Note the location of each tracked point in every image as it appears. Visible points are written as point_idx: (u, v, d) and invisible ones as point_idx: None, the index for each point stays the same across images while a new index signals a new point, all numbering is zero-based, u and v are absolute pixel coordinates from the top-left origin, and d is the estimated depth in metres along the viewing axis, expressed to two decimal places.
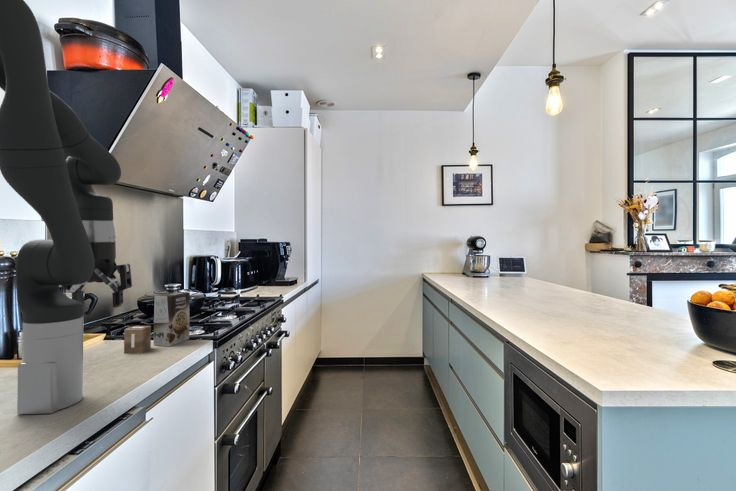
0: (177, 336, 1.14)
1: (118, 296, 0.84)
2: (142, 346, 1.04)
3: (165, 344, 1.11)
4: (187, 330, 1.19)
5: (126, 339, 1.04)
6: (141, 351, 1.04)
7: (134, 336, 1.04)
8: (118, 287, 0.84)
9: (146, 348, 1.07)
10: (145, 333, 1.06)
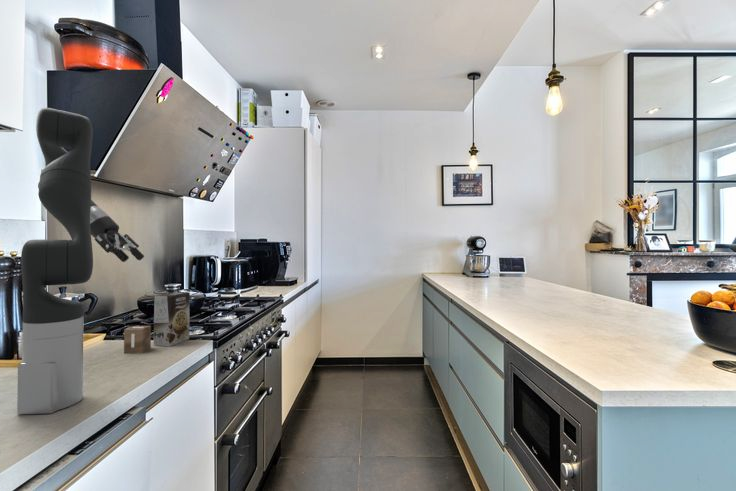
0: (177, 336, 1.14)
1: (138, 251, 1.20)
2: (142, 346, 1.04)
3: (165, 344, 1.11)
4: (187, 330, 1.19)
5: (126, 339, 1.04)
6: (141, 351, 1.04)
7: (134, 336, 1.04)
8: None
9: (146, 347, 1.07)
10: (145, 333, 1.06)
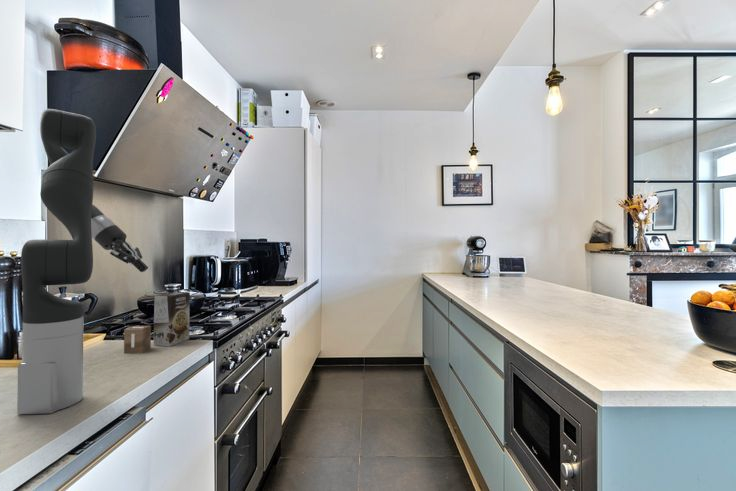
0: (177, 336, 1.14)
1: (142, 262, 1.16)
2: (142, 346, 1.04)
3: (165, 344, 1.11)
4: (187, 330, 1.19)
5: (126, 339, 1.04)
6: (141, 351, 1.04)
7: (134, 336, 1.04)
8: None
9: (146, 347, 1.07)
10: (145, 333, 1.06)
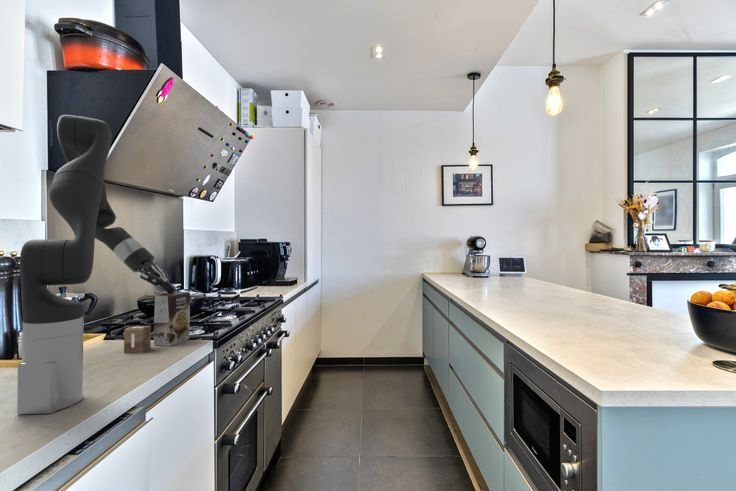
0: (177, 337, 1.14)
1: (170, 284, 1.17)
2: (142, 346, 1.04)
3: (165, 344, 1.11)
4: (187, 330, 1.19)
5: (126, 339, 1.04)
6: (141, 351, 1.04)
7: (134, 336, 1.04)
8: None
9: (146, 347, 1.07)
10: (145, 333, 1.06)
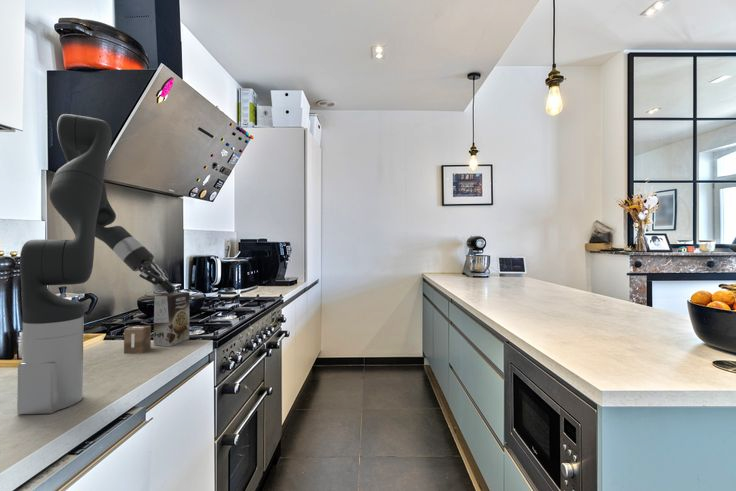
0: (177, 336, 1.14)
1: (169, 283, 1.17)
2: (141, 346, 1.04)
3: (165, 344, 1.11)
4: (187, 330, 1.19)
5: (126, 339, 1.04)
6: (141, 351, 1.04)
7: (134, 336, 1.04)
8: None
9: (146, 347, 1.07)
10: (145, 333, 1.06)
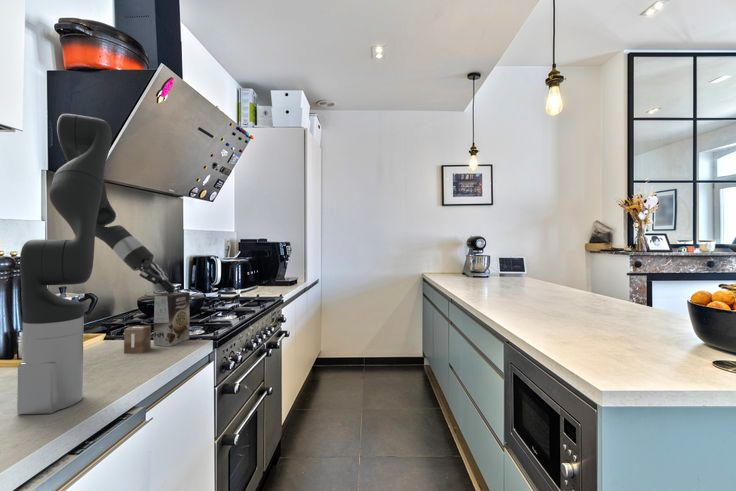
0: (177, 336, 1.14)
1: (169, 282, 1.17)
2: (141, 346, 1.04)
3: (165, 344, 1.11)
4: (187, 330, 1.19)
5: (126, 339, 1.04)
6: (141, 351, 1.04)
7: (134, 336, 1.04)
8: None
9: (146, 347, 1.07)
10: (145, 333, 1.06)
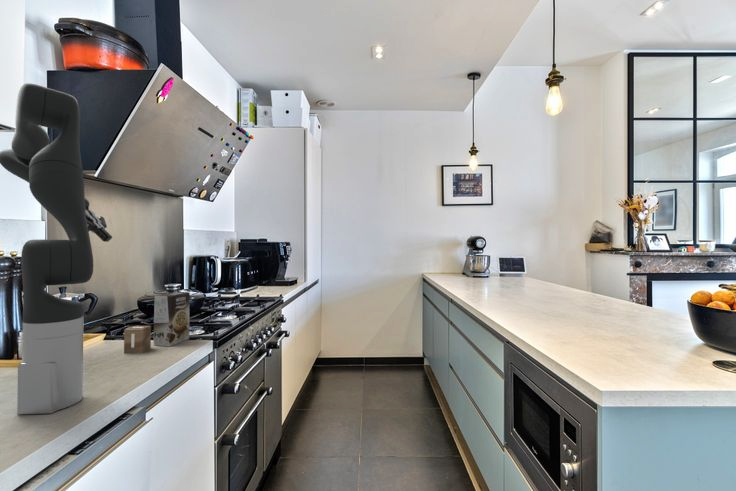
0: (177, 336, 1.14)
1: None
2: (141, 346, 1.04)
3: (165, 344, 1.11)
4: (187, 330, 1.19)
5: (126, 339, 1.04)
6: (141, 351, 1.04)
7: (134, 336, 1.04)
8: None
9: (146, 347, 1.07)
10: (145, 333, 1.06)
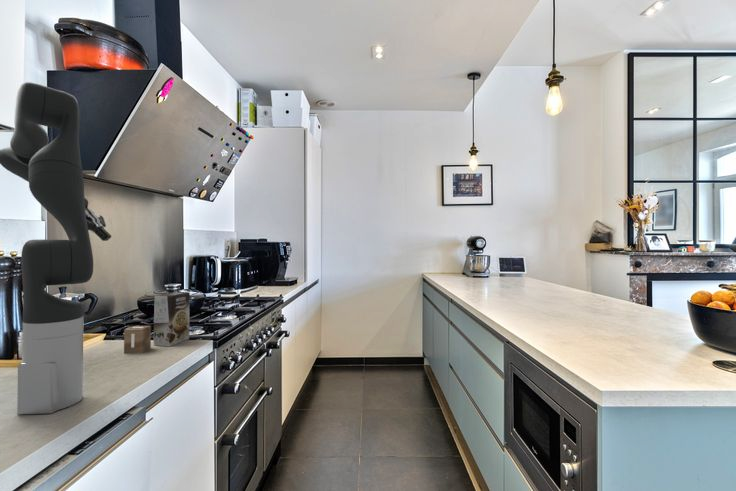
0: (177, 336, 1.14)
1: None
2: (141, 346, 1.04)
3: (165, 344, 1.11)
4: (187, 330, 1.19)
5: (126, 339, 1.04)
6: (141, 351, 1.04)
7: (134, 336, 1.04)
8: None
9: (146, 347, 1.07)
10: (145, 333, 1.06)
